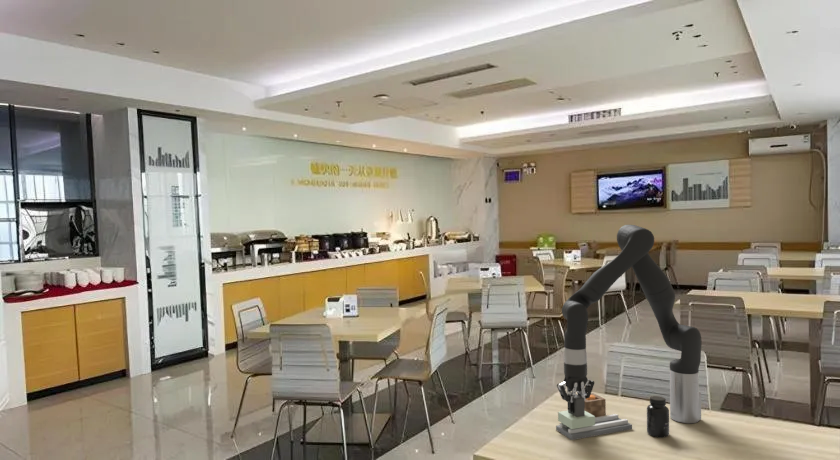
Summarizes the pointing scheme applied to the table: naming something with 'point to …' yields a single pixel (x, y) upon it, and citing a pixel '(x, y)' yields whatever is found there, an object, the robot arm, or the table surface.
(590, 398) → the button
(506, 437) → the table surface
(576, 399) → the carriage
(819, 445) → the table surface
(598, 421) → the track
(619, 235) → the robot arm
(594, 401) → the cabinet
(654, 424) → the supplement bottle
